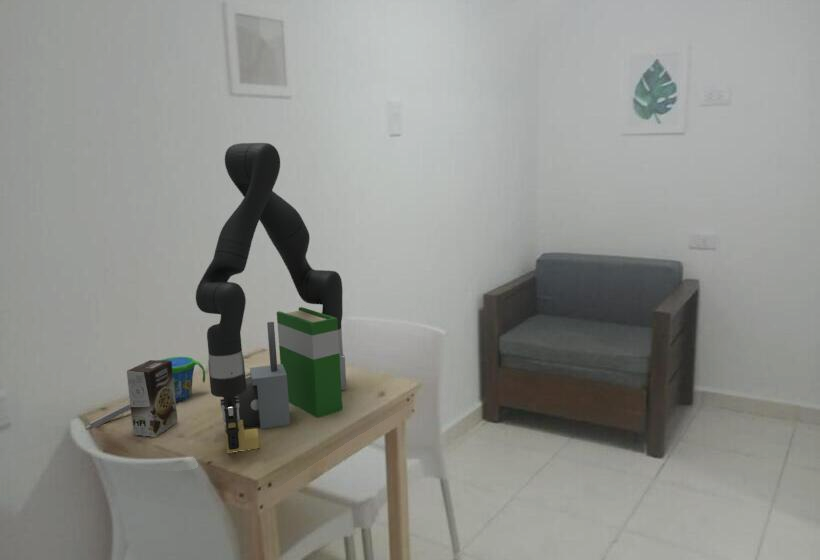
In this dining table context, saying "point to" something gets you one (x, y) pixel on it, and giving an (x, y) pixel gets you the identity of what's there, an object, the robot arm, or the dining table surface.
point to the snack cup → (183, 376)
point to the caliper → (109, 416)
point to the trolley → (266, 392)
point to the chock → (244, 437)
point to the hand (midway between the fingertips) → (233, 440)
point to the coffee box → (152, 397)
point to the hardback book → (311, 360)
